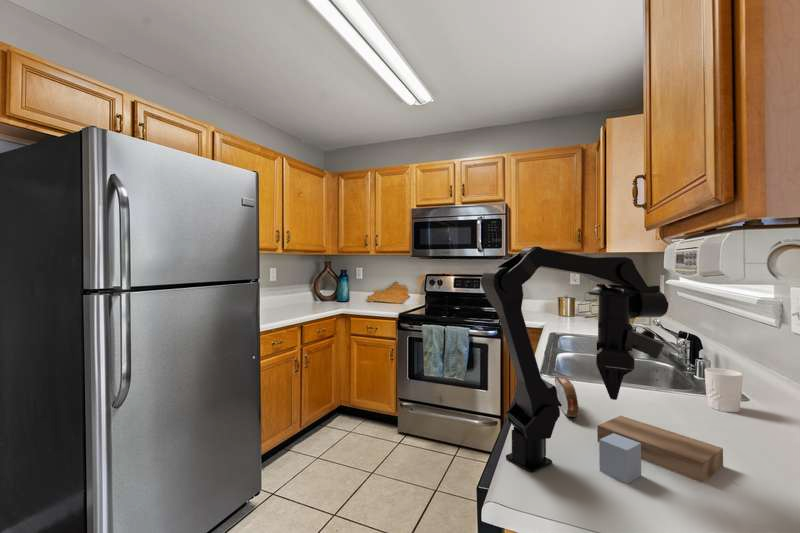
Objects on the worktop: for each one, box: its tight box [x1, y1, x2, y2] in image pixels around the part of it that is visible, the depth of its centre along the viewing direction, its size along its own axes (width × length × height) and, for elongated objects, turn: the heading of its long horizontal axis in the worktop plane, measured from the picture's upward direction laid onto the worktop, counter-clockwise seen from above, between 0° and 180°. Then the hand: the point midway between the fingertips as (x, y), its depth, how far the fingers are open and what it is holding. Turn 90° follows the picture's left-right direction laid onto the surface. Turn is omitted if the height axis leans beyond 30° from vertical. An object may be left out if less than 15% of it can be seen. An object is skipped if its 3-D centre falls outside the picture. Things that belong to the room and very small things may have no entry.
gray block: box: [598, 433, 642, 485], centre depth 70 cm, size 5×5×6 cm
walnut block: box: [596, 415, 724, 484], centre depth 77 cm, size 10×19×4 cm, turn 33°
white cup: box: [704, 367, 744, 414], centre depth 102 cm, size 8×8×10 cm
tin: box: [554, 375, 579, 418], centre depth 100 cm, size 15×3×8 cm, turn 168°
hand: (612, 392), depth 77 cm, fingers open, 9 cm apart
